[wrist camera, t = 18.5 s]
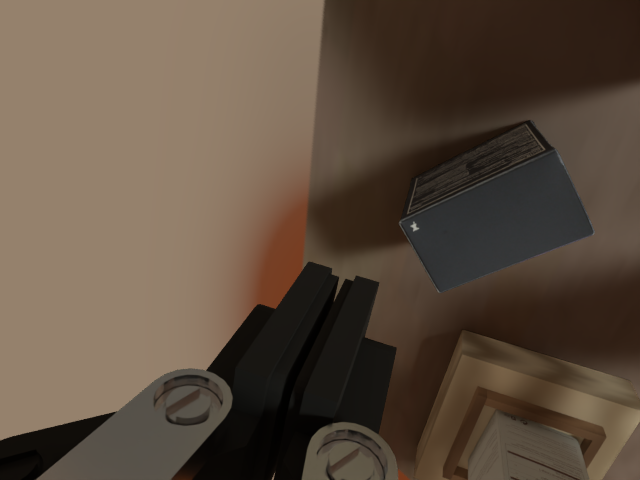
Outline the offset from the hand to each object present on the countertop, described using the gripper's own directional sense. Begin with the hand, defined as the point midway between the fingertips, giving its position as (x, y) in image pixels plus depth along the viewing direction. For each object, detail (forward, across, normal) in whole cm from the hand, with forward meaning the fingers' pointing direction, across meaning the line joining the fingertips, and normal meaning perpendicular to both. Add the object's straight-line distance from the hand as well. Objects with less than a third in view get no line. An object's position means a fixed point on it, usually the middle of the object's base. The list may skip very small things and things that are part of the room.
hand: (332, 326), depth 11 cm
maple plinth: (+31, -16, +26) cm, 44 cm away
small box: (+31, -6, +4) cm, 32 cm away
